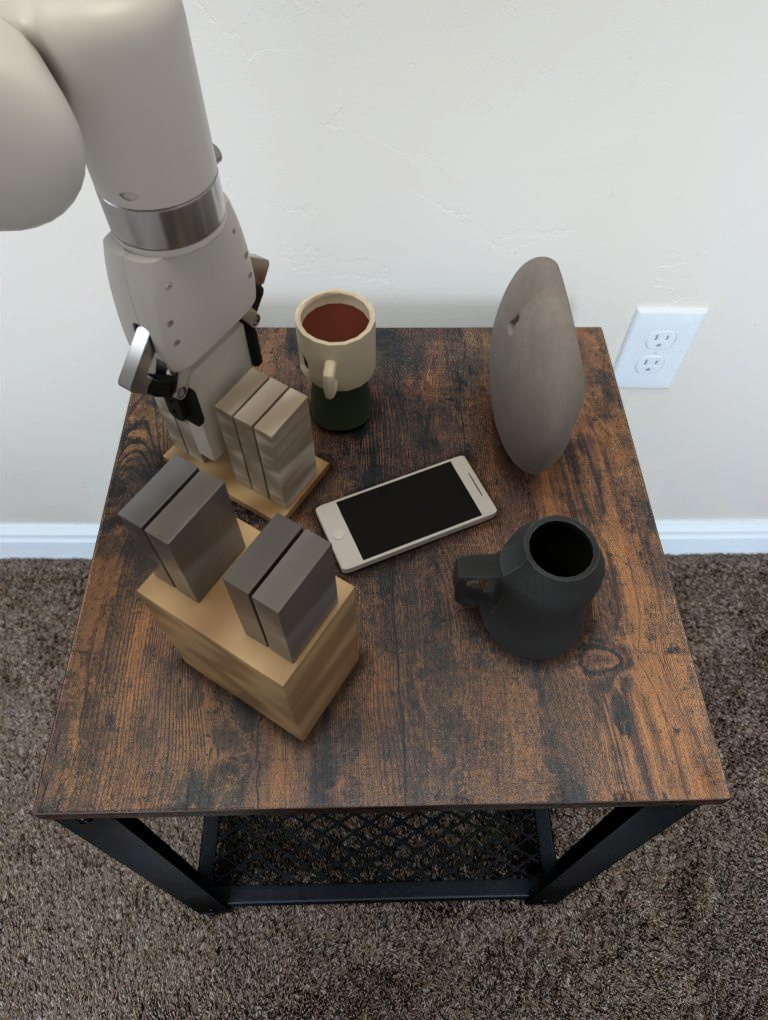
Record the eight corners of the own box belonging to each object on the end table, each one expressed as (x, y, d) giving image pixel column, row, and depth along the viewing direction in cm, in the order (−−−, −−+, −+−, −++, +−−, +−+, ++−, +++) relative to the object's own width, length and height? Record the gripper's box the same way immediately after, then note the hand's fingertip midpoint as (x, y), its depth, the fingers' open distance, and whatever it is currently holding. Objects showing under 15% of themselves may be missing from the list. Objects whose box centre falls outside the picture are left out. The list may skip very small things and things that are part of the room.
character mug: (315, 369, 75) (304, 270, 64) (381, 374, 75) (382, 276, 64) (298, 451, 69) (283, 358, 58) (369, 457, 69) (368, 365, 58)
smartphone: (315, 512, 66) (314, 506, 65) (462, 459, 69) (463, 453, 68) (343, 575, 62) (343, 570, 61) (497, 516, 66) (498, 511, 65)
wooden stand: (185, 662, 58) (94, 530, 39) (245, 588, 62) (188, 434, 43) (303, 741, 55) (265, 639, 36) (359, 658, 58) (351, 525, 40)
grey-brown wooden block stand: (165, 461, 69) (128, 378, 58) (217, 408, 72) (191, 320, 62) (280, 528, 65) (262, 451, 55) (329, 468, 68) (321, 385, 58)
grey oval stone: (567, 510, 66) (629, 373, 50) (493, 513, 66) (530, 376, 50) (535, 364, 76) (577, 210, 60) (469, 366, 76) (495, 212, 60)
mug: (575, 560, 63) (611, 493, 54) (594, 658, 59) (637, 603, 49) (443, 563, 63) (454, 496, 53) (451, 661, 58) (465, 607, 49)
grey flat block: (199, 453, 64) (168, 369, 54) (247, 402, 67) (225, 315, 57) (214, 461, 63) (186, 378, 54) (262, 410, 66) (243, 323, 57)
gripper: (206, 117, 49) (246, 310, 65) (17, 255, 42) (114, 437, 57) (292, 151, 47) (313, 342, 63) (110, 303, 40) (185, 478, 55)
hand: (218, 386), depth 60 cm, fingers closed on grey flat block, 7 cm apart
